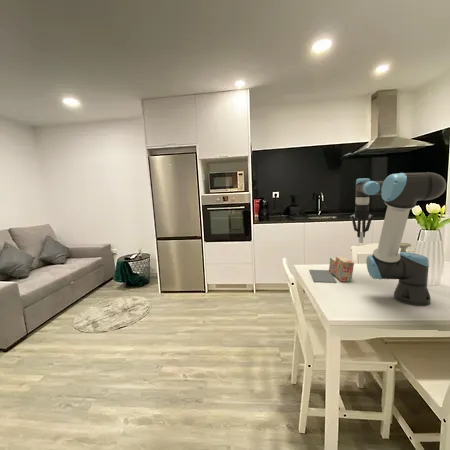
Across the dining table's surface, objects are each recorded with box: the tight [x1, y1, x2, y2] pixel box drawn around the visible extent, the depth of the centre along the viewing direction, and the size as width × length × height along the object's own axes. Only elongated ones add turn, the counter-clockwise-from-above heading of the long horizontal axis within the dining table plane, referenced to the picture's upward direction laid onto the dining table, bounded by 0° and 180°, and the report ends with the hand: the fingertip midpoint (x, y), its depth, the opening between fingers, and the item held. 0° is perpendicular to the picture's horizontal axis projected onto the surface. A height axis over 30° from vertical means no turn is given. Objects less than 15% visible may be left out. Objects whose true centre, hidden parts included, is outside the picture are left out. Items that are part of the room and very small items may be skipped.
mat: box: [308, 269, 337, 284], centre depth 174 cm, size 24×13×1 cm, turn 169°
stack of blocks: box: [328, 256, 355, 283], centre depth 172 cm, size 21×6×12 cm, turn 178°
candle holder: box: [399, 242, 412, 254], centre depth 171 cm, size 9×9×20 cm
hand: (360, 242), depth 167 cm, fingers closed
